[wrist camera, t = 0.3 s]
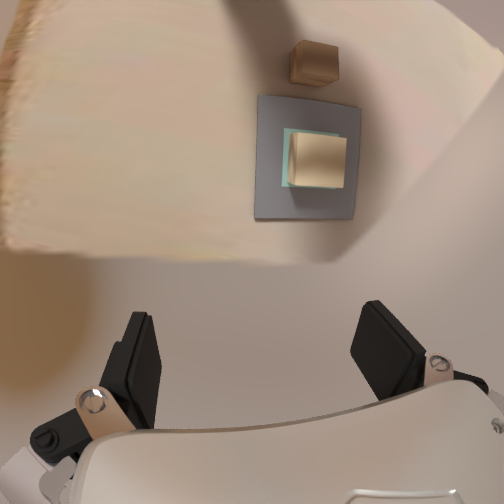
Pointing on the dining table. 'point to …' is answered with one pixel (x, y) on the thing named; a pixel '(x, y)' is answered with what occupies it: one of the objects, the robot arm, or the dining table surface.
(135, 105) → the dining table surface
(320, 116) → the build mat
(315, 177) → the maple block
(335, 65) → the walnut block
